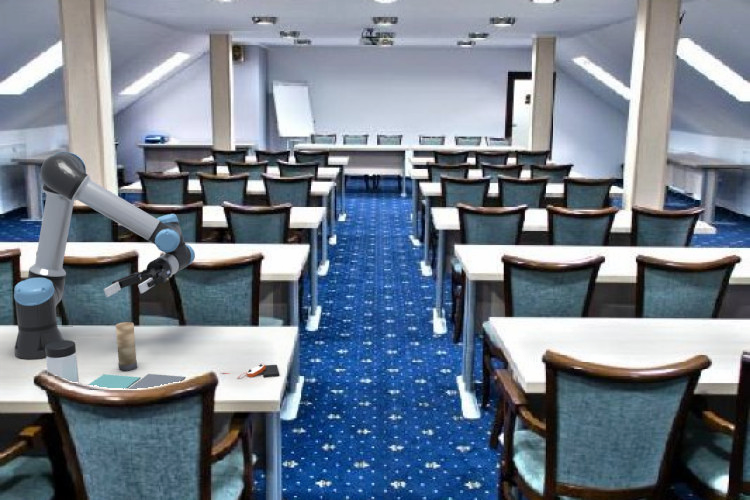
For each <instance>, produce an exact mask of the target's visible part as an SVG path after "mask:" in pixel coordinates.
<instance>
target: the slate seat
mask: <svg viewBox="0 0 750 500" xmlns="http://www.w3.org/2000/svg"><path fill="white" fill-rule="evenodd" d="M185 379H186V376H182V375H170V374H169V375H166V374H155V373H147V374H145V376H144V377H142V378H140V379H139V380H138V381H136V382H135V383H134V384H132V385H131V386H130V387H128V389H137V388H148V387H154V386H160V385H161V384H162V385H164V384H168V383H173V382H179V381H181V382H182V380H183V381H184V380H185Z"/></svg>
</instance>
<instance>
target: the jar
mask: <svg viewBox="0 0 750 500" xmlns="http://www.w3.org/2000/svg"><path fill="white" fill-rule="evenodd" d="M76 347H77V345H76V342H75V341H73V340H68V339H66V340H65V339H63V340H61V341H55V342H52V343H49V344H47V345H46V346H45V352H46V357H45V359H46V369H47V370H46V371H47V372H48V371H49V372H51V373H53V374H55V375H57V376H60V377H62V378H65V379H67V380H69V381H72V382H78V383H79V369H78V358H77V349H76Z"/></svg>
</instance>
